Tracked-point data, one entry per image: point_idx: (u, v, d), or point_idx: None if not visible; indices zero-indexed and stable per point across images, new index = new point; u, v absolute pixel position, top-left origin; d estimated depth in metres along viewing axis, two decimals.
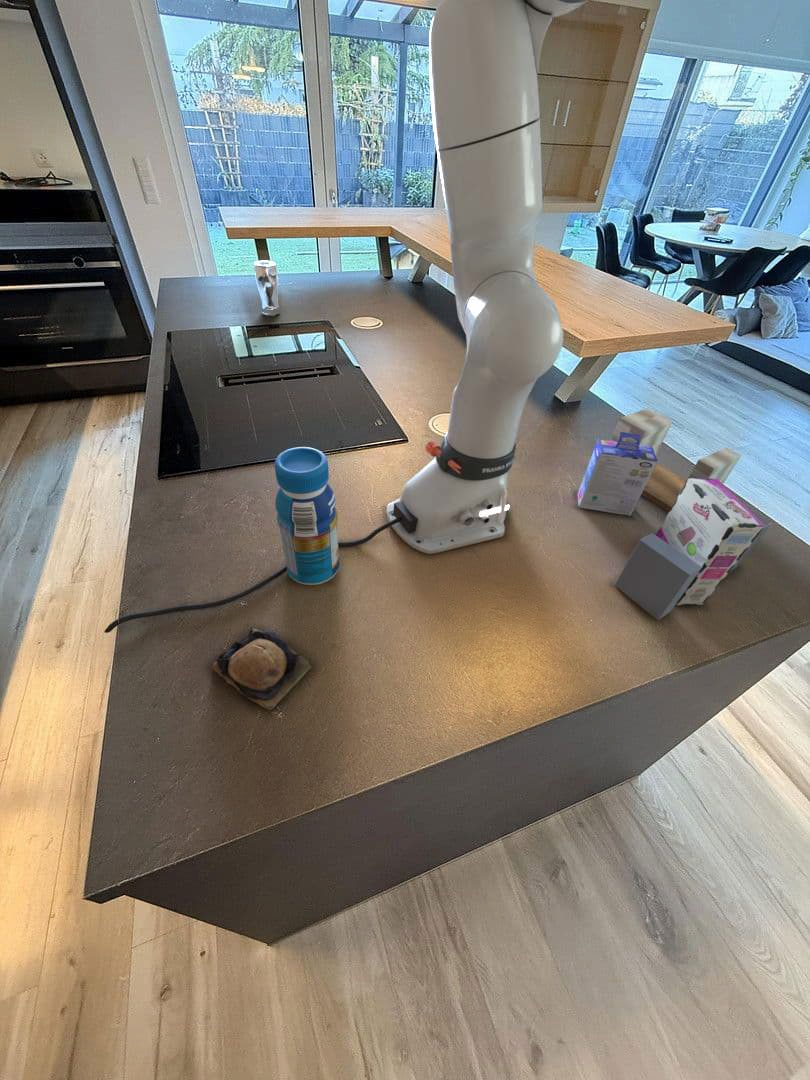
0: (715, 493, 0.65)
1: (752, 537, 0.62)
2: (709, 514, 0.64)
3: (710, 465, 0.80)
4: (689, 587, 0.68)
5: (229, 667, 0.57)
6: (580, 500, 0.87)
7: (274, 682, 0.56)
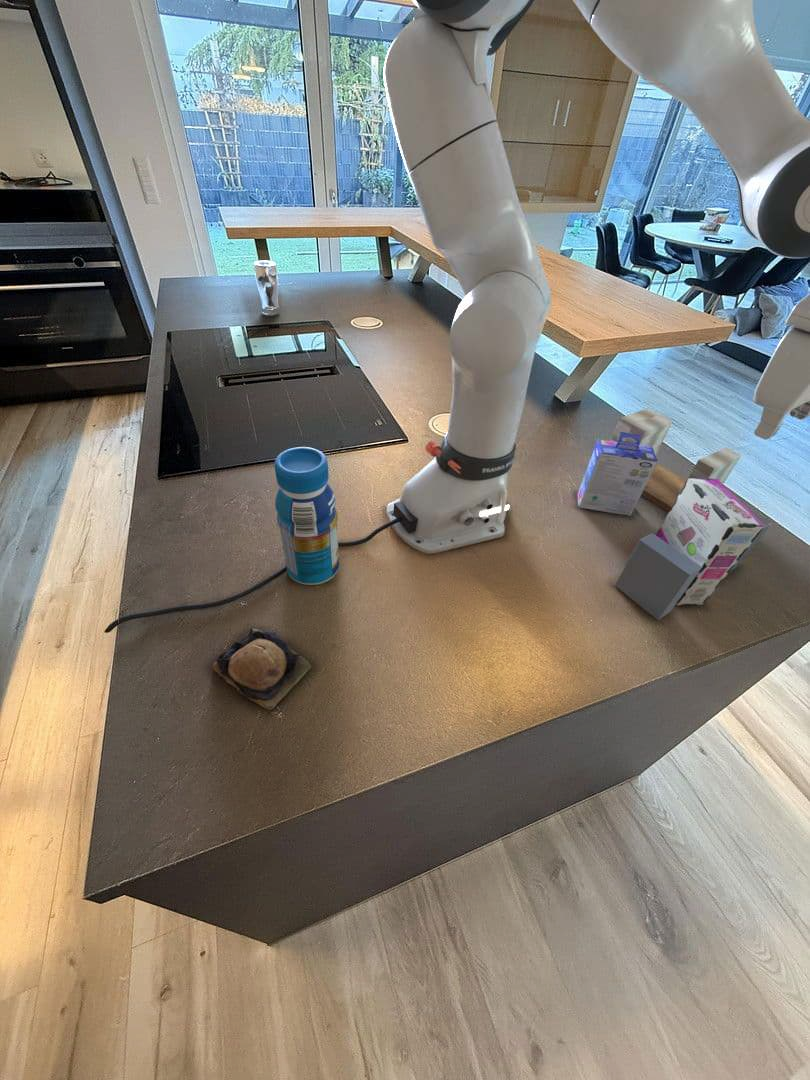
0: (715, 493, 0.65)
1: (752, 537, 0.62)
2: (709, 514, 0.64)
3: (710, 465, 0.80)
4: (689, 587, 0.68)
5: (229, 667, 0.57)
6: (580, 500, 0.87)
7: (274, 682, 0.56)
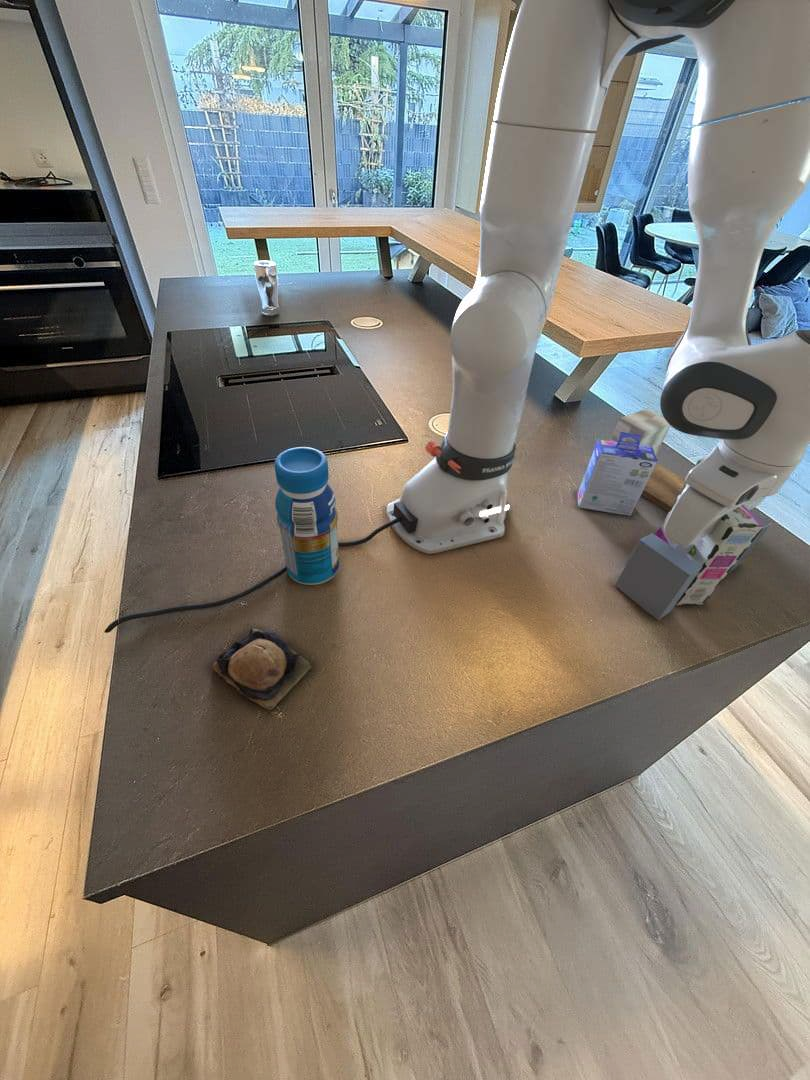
0: None
1: (752, 537, 0.62)
2: None
3: None
4: (689, 587, 0.68)
5: (229, 667, 0.57)
6: (580, 500, 0.87)
7: (274, 682, 0.56)
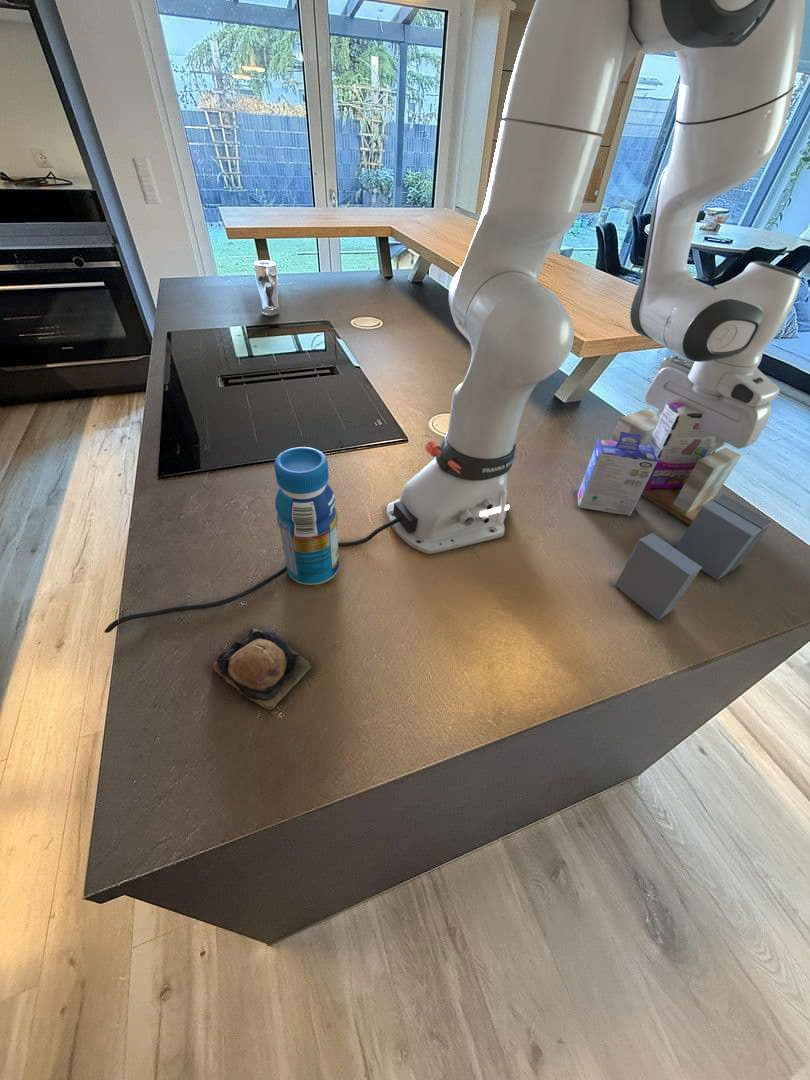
0: None
1: None
2: None
3: (710, 465, 0.80)
4: None
5: (229, 667, 0.57)
6: (580, 500, 0.87)
7: (274, 682, 0.56)
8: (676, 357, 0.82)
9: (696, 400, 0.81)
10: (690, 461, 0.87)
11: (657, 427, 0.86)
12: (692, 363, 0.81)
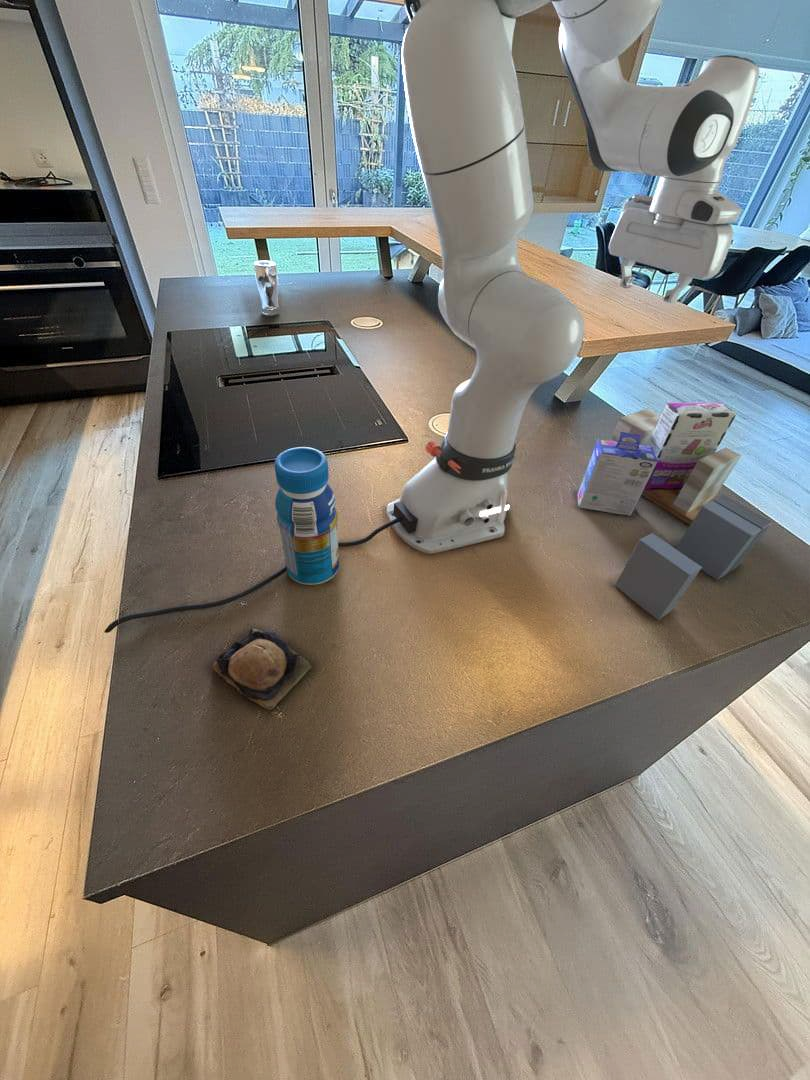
0: (694, 409, 0.82)
1: None
2: (712, 421, 0.81)
3: (710, 465, 0.80)
4: None
5: (229, 667, 0.57)
6: (580, 500, 0.87)
7: (274, 682, 0.56)
8: (638, 195, 0.80)
9: (658, 237, 0.78)
10: (690, 461, 0.87)
11: (657, 427, 0.86)
12: None
